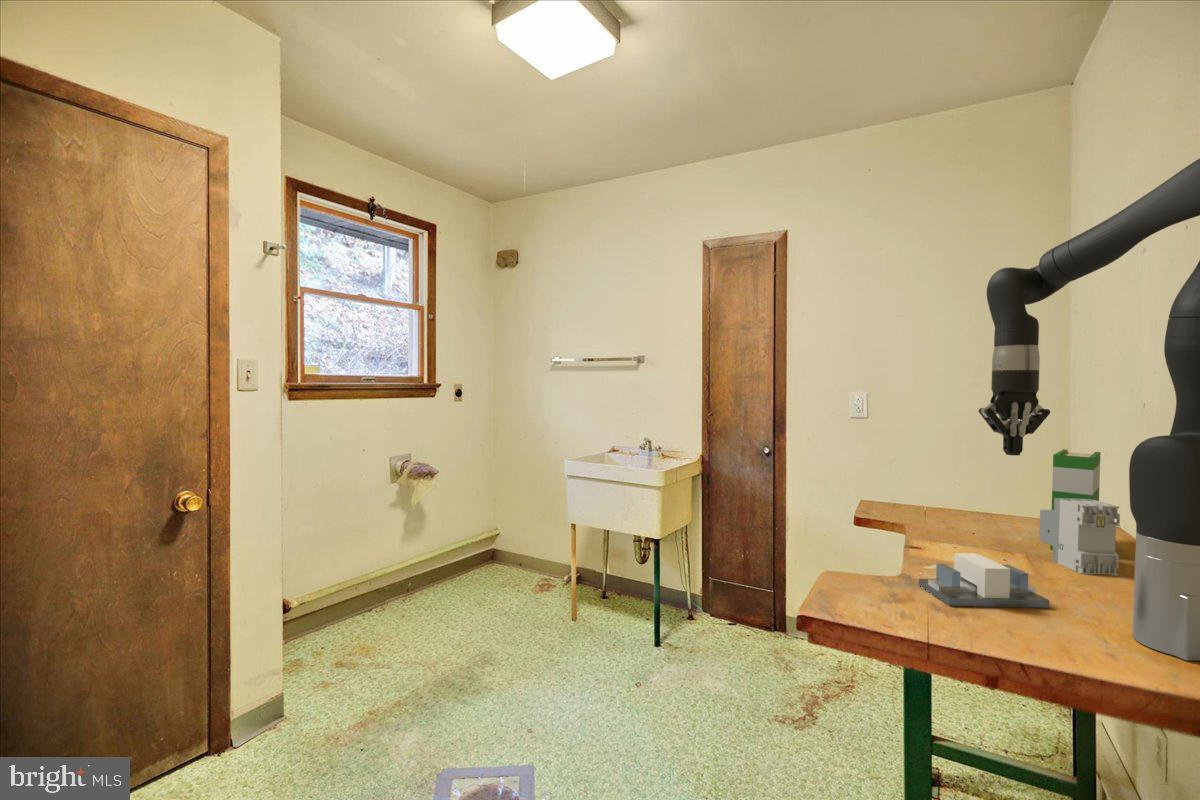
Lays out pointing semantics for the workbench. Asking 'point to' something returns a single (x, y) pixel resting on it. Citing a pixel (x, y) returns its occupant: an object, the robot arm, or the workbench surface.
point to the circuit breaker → (1082, 534)
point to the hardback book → (1075, 476)
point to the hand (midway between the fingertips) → (1012, 454)
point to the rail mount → (966, 594)
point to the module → (983, 574)
